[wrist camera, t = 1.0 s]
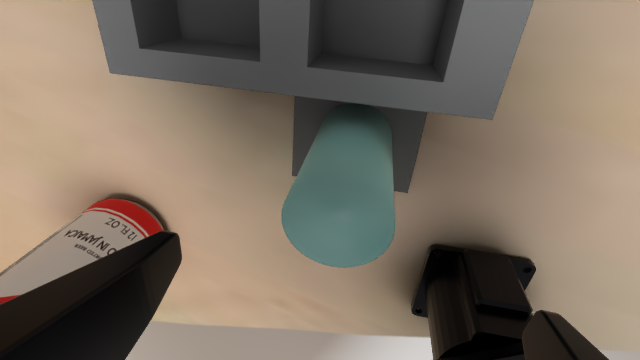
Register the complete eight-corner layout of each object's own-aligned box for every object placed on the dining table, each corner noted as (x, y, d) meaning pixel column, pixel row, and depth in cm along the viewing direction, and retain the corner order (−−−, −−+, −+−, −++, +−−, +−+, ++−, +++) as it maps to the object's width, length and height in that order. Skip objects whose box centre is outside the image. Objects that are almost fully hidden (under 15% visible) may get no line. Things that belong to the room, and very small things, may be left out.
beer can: (150, 268, 28) (-73, 532, 14) (85, 221, 27) (-233, 466, 13) (187, 231, 25) (-48, 517, 12) (116, 176, 24) (-249, 430, 10)
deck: (407, 187, 20) (407, 192, 20) (294, 171, 21) (292, 175, 21) (428, 98, 17) (429, 101, 17) (297, 82, 18) (295, 85, 18)
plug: (385, 174, 19) (384, 275, 13) (317, 164, 20) (280, 257, 13) (398, 107, 17) (405, 184, 11) (322, 98, 18) (282, 166, 11)
